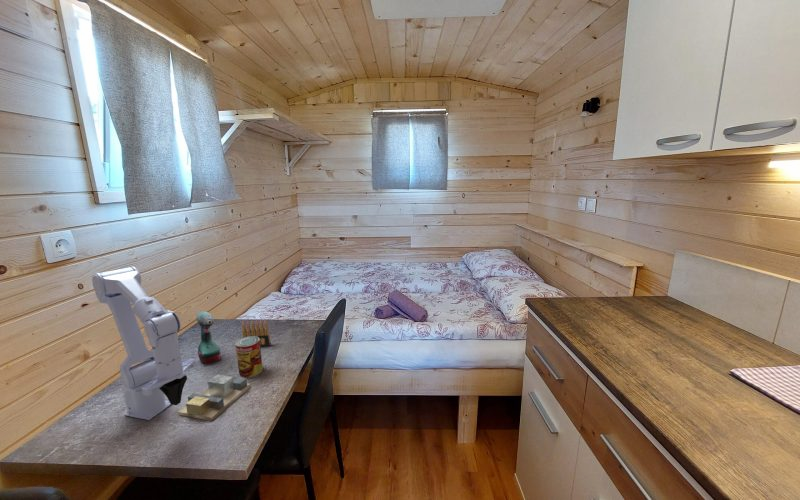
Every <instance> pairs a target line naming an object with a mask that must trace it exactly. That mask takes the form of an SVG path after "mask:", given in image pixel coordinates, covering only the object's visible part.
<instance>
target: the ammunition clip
mask: <svg viewBox="0 0 800 500" xmlns="http://www.w3.org/2000/svg"><path fill="white" fill-rule="evenodd" d="M263 322H264V323H263ZM268 325H269V324H268V321H267V319H265V318H264V321H263V320H262V319H260V320H259V321H258V320H257V319H256V320H255V323H254V320H253V319H252V320H251V322H250V321H249V320H247V321H246V323H245V320H242V322H241V334H242V338H244V337H248V336H256V337H258V338H259V340H260V348H268V347H270V346H271V345H272V342H271V335H270V332H269V330H270V329H269V326H268Z"/></svg>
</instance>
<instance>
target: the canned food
mask: <svg viewBox="0 0 800 500" xmlns="http://www.w3.org/2000/svg"><path fill="white" fill-rule="evenodd" d="M235 350H236V351H235V352H236V360H237V368H238V373H239V374H238V376H240V378H246V379H247V378H253V377H256V376H258V375H260V374H261V373H262V372H263V360H262V351H261V347H260V340H259V338H258V337H256V336H248V337H244V338H239V339H237V340H236V342H235Z"/></svg>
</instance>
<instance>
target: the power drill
mask: <svg viewBox="0 0 800 500" xmlns="http://www.w3.org/2000/svg"><path fill="white" fill-rule="evenodd" d="M196 314H197V315H196V321H197V323H198V324H199V326H200V343H199V344H198V347H197V355H198V359H199V361H200V362H201V363H203V364H208V363H212V362H215V361H218V360H221V357H220V355H221V348H220V346H219V345H218V343H217V342H216V340H214V339H213V338H212V332H211V326H213V325H214V323H215V321H214V317H213V315H212V314H211V313H210V312H207V311H205V310H204V311H200V312H198V313H196Z"/></svg>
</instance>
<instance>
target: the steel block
mask: <svg viewBox="0 0 800 500" xmlns="http://www.w3.org/2000/svg"><path fill="white" fill-rule="evenodd" d="M230 376H231V375H225V376H223V374H216V375H215V376H213V377H211V378H210V379H209V380H208V381H207V387H208V388H209V395H210V396H215V397H221V398H226V397H228V396H229V395H230V394H231V393H232V392H233V391H234V383H233V377H234V376H232V377H230ZM208 388H207V389H208Z"/></svg>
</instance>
